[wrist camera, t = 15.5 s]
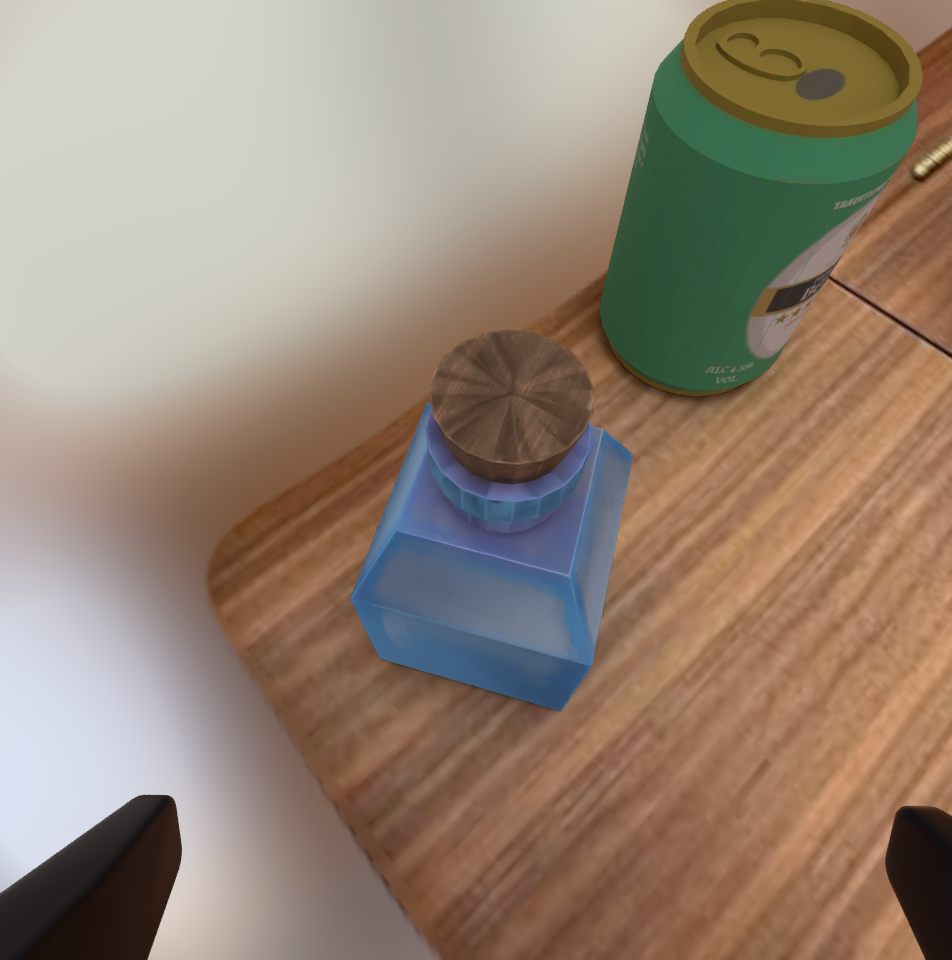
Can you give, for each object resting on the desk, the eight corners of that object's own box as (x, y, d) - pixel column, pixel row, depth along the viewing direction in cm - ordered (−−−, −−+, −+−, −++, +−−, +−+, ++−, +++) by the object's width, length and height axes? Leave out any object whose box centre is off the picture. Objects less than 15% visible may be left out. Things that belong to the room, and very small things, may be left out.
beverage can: (703, 438, 27) (851, 181, 17) (559, 330, 30) (607, 51, 19) (809, 334, 30) (994, 57, 19) (668, 244, 33) (763, -42, 22)
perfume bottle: (435, 499, 25) (409, 250, 14) (596, 541, 24) (693, 310, 14) (379, 658, 22) (296, 491, 12) (560, 711, 21) (648, 583, 11)
